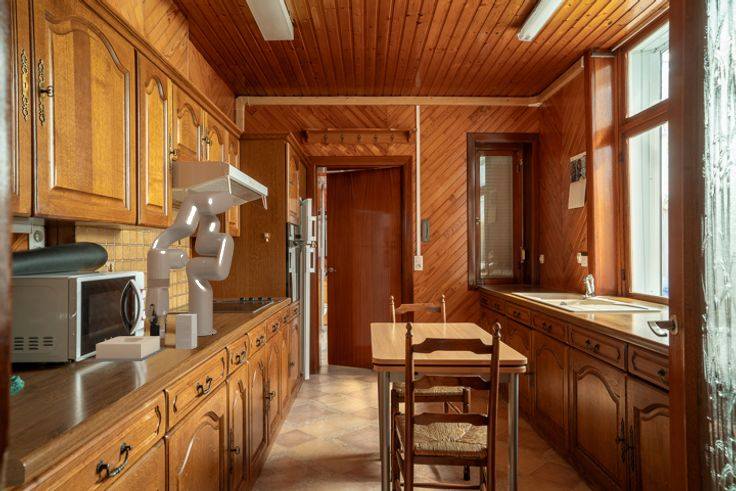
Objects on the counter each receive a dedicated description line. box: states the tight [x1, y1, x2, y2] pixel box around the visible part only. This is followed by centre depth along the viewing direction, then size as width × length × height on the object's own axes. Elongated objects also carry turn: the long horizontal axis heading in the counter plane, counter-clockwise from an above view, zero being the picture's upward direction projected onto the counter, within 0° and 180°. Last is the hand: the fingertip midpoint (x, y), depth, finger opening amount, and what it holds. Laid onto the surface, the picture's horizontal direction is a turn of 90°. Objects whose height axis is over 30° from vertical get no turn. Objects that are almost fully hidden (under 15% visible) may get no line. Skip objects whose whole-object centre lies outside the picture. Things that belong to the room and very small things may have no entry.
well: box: [95, 335, 161, 359], centre depth 156 cm, size 14×14×4 cm
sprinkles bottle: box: [153, 311, 166, 348], centre depth 170 cm, size 5×5×13 cm
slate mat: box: [82, 347, 169, 363], centre depth 155 cm, size 20×18×1 cm
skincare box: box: [175, 313, 198, 350], centre depth 167 cm, size 6×4×12 cm
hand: (158, 334), depth 170 cm, fingers open, 4 cm apart
